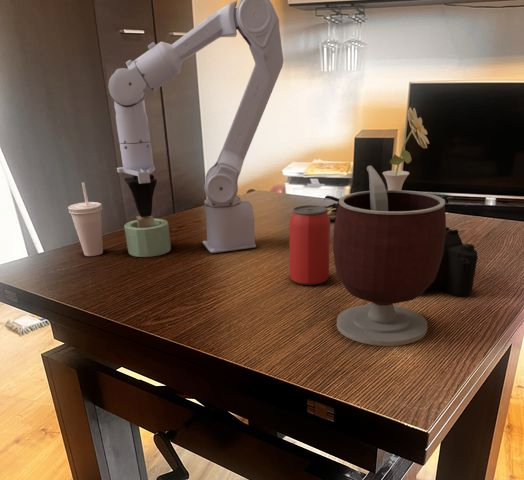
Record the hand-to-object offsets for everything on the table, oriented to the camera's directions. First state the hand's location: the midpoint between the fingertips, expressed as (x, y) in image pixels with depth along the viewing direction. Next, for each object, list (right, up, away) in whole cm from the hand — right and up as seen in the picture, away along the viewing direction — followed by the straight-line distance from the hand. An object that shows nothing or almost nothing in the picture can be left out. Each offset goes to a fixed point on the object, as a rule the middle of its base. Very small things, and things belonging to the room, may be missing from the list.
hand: (145, 215), depth 105 cm
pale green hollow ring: (0, -6, +3) cm, 7 cm away
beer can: (+31, -15, -15) cm, 38 cm away
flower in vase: (+50, -5, +3) cm, 50 cm away
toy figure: (+39, +4, +20) cm, 44 cm away
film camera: (+50, -16, -19) cm, 56 cm away
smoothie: (-11, -7, +3) cm, 14 cm away
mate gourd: (+40, -23, -31) cm, 56 cm away
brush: (0, -3, +2) cm, 3 cm away
